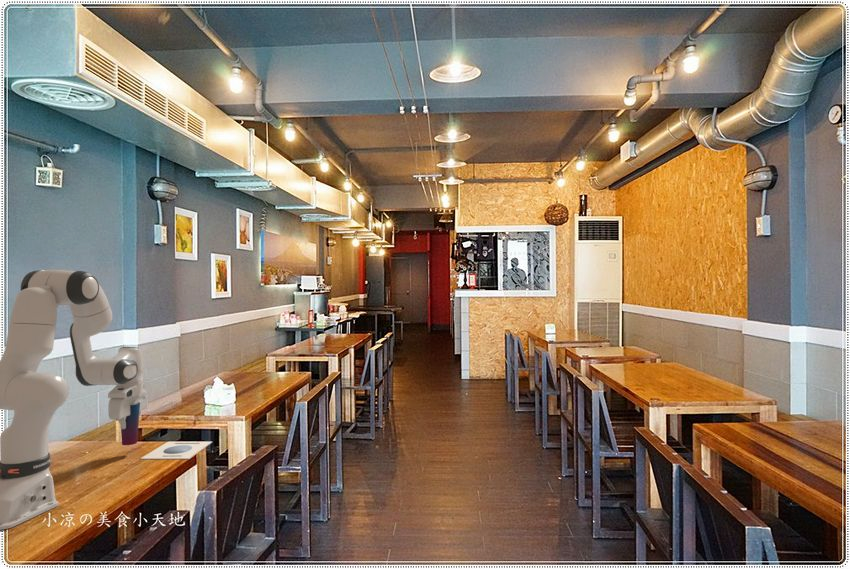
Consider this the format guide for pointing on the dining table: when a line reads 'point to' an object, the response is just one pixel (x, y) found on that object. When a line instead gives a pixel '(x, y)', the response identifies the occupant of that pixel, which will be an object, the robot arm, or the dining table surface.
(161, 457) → the paper sheet
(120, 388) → the robot arm
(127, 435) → the cup
